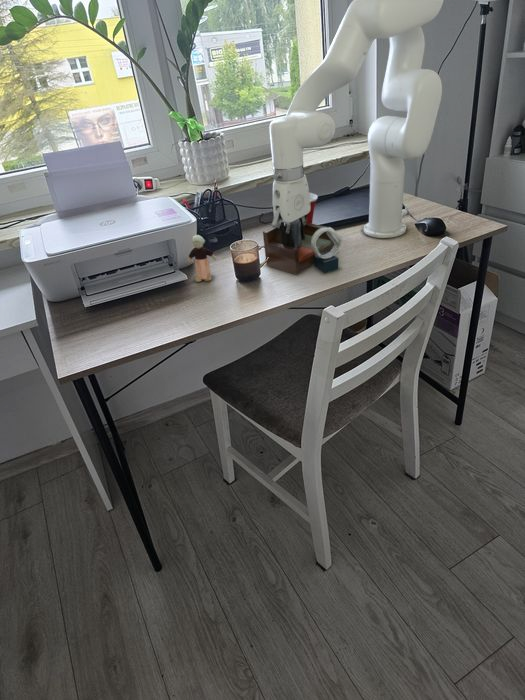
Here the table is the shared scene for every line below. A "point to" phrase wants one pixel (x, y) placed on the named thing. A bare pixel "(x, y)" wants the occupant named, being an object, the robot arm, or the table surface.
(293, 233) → the pepper pot
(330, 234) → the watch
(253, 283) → the table surface
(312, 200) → the plastic cup
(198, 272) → the grandmother figurine
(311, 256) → the sofa
